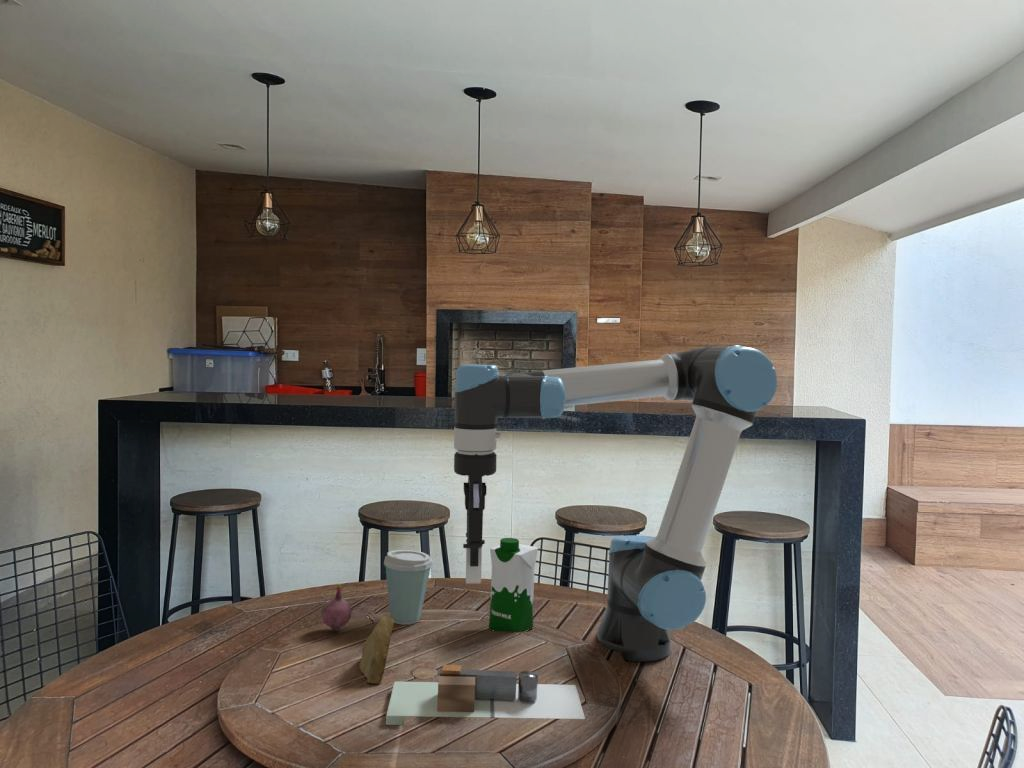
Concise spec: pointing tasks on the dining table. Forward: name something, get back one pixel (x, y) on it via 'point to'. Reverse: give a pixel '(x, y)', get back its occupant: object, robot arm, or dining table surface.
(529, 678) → the bar
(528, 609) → the milk carton
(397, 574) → the disposable coffee cup
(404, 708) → the door plate
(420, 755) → the dining table surface
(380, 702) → the dining table surface
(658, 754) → the dining table surface
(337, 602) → the vegetable
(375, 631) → the rock
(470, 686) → the block
